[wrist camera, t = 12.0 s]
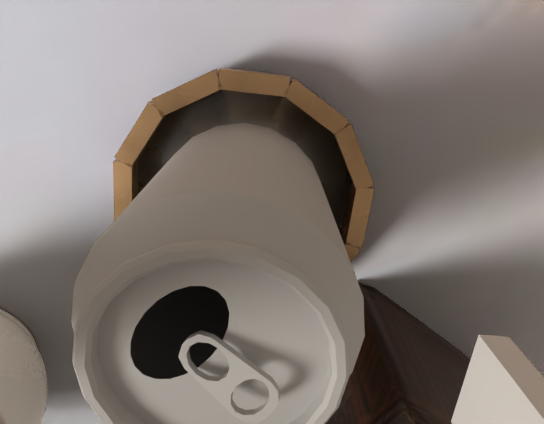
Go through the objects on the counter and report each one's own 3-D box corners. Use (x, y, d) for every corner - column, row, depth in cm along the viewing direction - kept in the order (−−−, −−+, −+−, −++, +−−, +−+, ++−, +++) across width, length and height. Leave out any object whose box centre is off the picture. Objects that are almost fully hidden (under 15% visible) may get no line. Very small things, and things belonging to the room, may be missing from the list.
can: (227, 83, 19) (165, 137, 8) (354, 188, 21) (454, 356, 9) (133, 209, 21) (-25, 397, 10) (255, 295, 23) (241, 538, 11)
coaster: (340, 302, 24) (346, 324, 22) (128, 282, 24) (115, 303, 22) (382, 85, 20) (394, 89, 18) (126, 55, 19) (111, 56, 18)
